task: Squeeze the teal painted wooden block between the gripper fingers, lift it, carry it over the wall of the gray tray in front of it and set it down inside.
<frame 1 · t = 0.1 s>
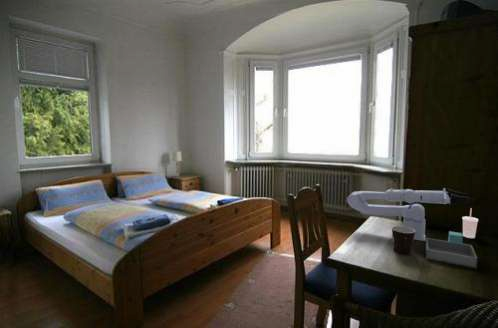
hand: (469, 198, 123), 22 cm above the table, tool horizontal, fingers open, 7 cm apart
gray tray: (448, 256, 115), on the table
coffee mug: (400, 253, 119), on the table
beverage cup: (468, 236, 136), on the table
teal block: (454, 246, 124), on the table
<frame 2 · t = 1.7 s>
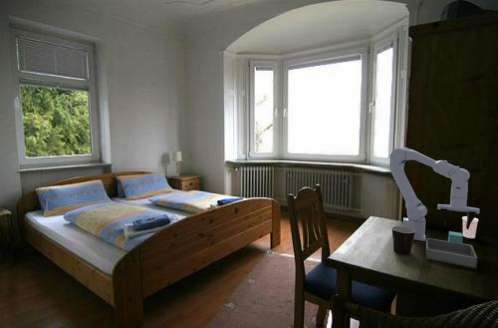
hand: (456, 227, 123), 9 cm above the table, tool pointing down, fingers open, 7 cm apart
nothing on the table moved.
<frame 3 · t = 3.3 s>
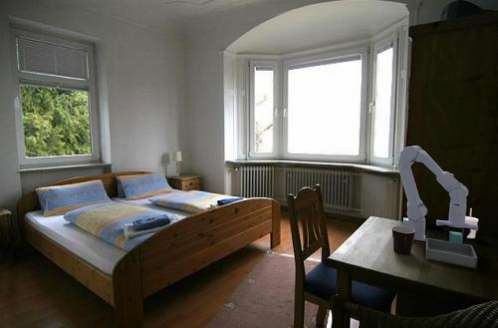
hand: (454, 243, 124), 2 cm above the table, tool pointing down, fingers closed on teal block, 4 cm apart
teal block: (454, 246, 124), on the table, touching gripper
everything else where it was.
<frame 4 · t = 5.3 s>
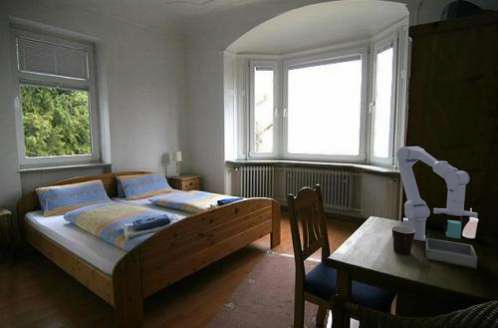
hand: (453, 232, 117), 9 cm above the table, tool pointing down, fingers closed on teal block, 4 cm apart
teal block: (452, 235, 118), point 7 cm above the table, touching gripper
everything else where it was.
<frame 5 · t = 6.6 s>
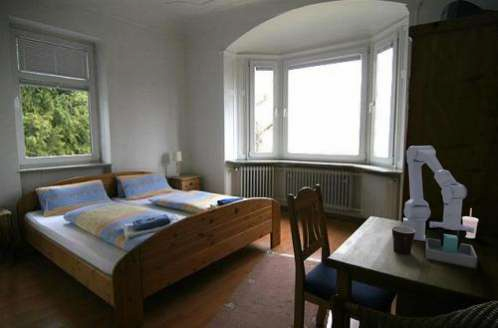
hand: (449, 246, 114), 4 cm above the table, tool pointing down, fingers closed on teal block, 4 cm apart
teal block: (449, 250, 115), point 2 cm above the table, touching gripper
everything else where it was.
when the fingers open (4 cm above the table, at t = 7.4 s): teal block drops 2 cm, resting on gray tray.
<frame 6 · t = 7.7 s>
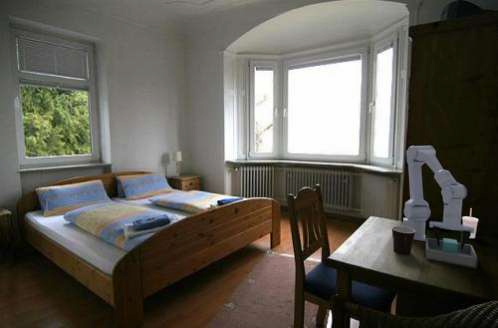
hand: (449, 246, 114), 4 cm above the table, tool pointing down, fingers open, 7 cm apart
teal block: (449, 254, 115), point 1 cm above the table, touching gray tray
everything else where it was.
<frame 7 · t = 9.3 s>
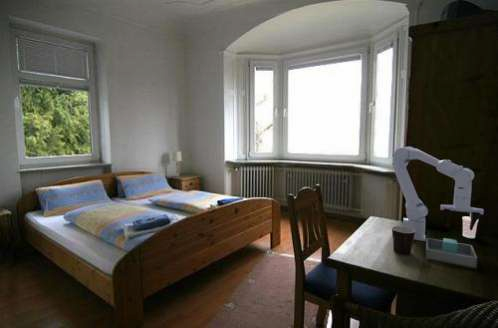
hand: (459, 227, 121), 9 cm above the table, tool pointing down, fingers open, 7 cm apart
nothing on the table moved.
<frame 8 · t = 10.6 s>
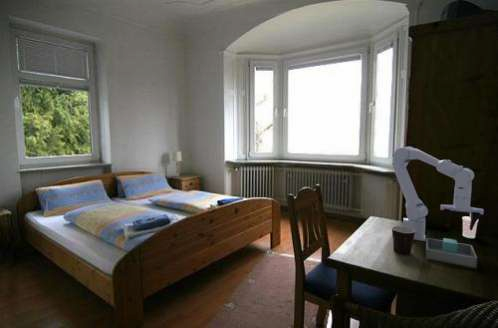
hand: (459, 227, 121), 9 cm above the table, tool pointing down, fingers open, 7 cm apart
nothing on the table moved.
at the end: teal block inside the target area on the gray tray (0.3 cm from its centre), point 0.6 cm above the gray tray's base; the gripper is holding nothing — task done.
